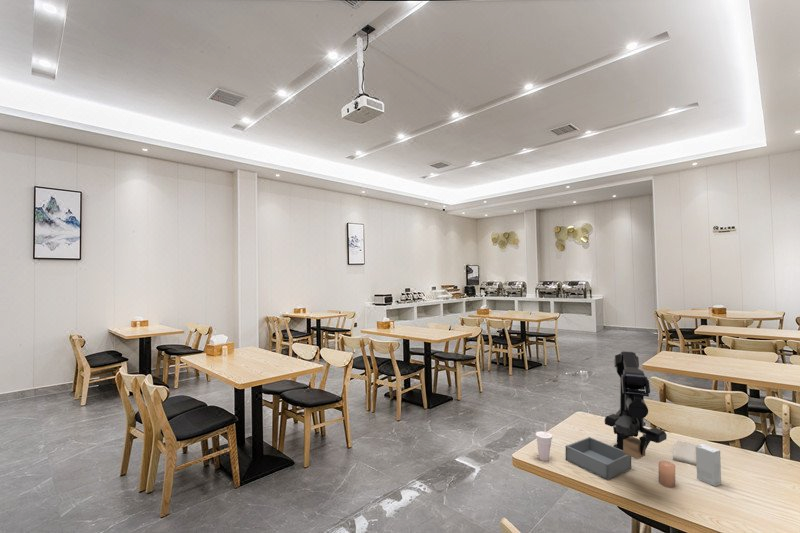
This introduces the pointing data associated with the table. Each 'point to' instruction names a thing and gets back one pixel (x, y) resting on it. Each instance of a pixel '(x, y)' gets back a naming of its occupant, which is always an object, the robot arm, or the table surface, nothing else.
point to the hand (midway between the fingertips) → (634, 451)
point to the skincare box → (708, 464)
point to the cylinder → (666, 474)
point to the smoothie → (544, 444)
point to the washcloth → (685, 452)
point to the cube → (632, 447)
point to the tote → (598, 458)
